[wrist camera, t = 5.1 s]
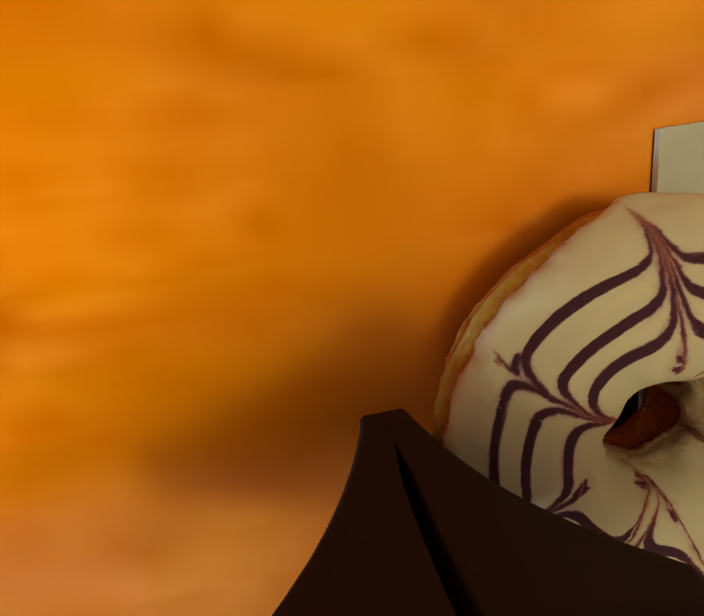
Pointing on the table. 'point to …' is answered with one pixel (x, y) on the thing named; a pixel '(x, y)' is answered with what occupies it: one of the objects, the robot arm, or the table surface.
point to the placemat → (677, 168)
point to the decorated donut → (593, 376)
